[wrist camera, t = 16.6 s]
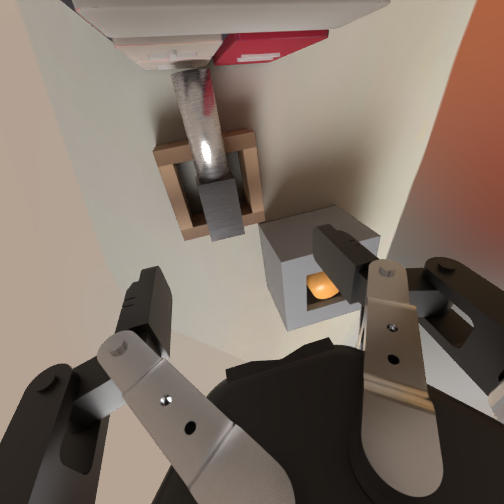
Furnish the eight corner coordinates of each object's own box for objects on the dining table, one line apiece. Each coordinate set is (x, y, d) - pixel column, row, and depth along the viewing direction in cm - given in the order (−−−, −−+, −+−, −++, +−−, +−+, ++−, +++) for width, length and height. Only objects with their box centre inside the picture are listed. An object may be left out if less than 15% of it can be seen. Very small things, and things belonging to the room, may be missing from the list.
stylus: (166, 73, 14) (211, 241, 21) (214, 66, 15) (244, 233, 21) (168, 78, 17) (209, 227, 23) (210, 71, 17) (238, 220, 24)
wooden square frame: (156, 145, 21) (152, 151, 19) (246, 128, 22) (254, 131, 20) (184, 227, 26) (184, 240, 24) (257, 209, 27) (265, 221, 25)
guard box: (258, 224, 28) (281, 262, 22) (336, 205, 29) (380, 235, 23) (267, 286, 34) (287, 331, 27) (332, 268, 35) (366, 307, 28)
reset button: (293, 251, 28) (312, 277, 24) (322, 244, 28) (345, 268, 24) (294, 274, 30) (312, 302, 26) (321, 267, 30) (342, 293, 26)
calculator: (139, 74, 19) (53, 28, 6) (118, -4, 16) (-86, -328, 4) (274, 65, 20) (413, 16, 8) (273, -7, 18) (468, -234, 6)
